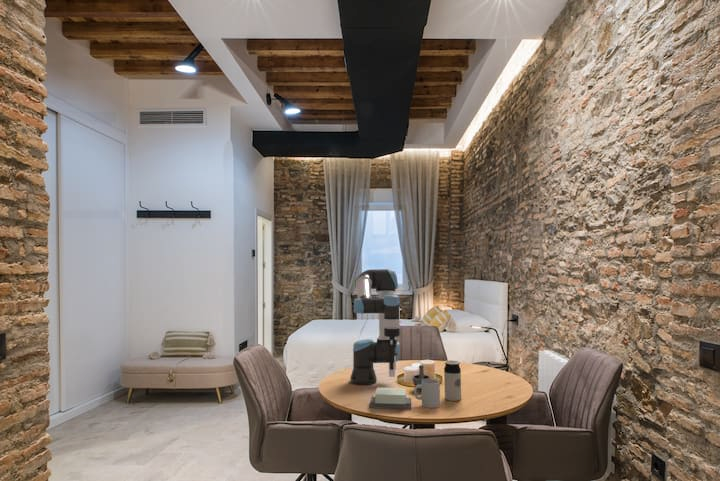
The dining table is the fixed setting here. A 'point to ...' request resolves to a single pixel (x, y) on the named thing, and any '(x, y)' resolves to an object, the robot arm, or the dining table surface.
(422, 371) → the mortar and pestle
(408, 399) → the mat
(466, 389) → the dining table surface
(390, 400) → the lid
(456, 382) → the travel mug
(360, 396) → the dining table surface
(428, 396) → the mug
